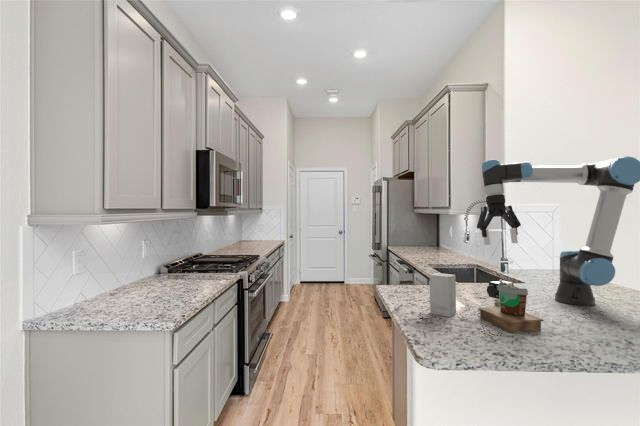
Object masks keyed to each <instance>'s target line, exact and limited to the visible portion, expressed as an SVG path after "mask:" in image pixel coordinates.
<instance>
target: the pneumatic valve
mask: <svg viewBox="0 0 640 426" xmlns="http://www.w3.org/2000/svg"><path fill="white" fill-rule="evenodd" d="M502 282H506V285H509V286H515V285H514V282H513V281H508V280H507V281H506V280H503V279H499V280H498V281H497V280H496V281H495V280H494V281H488V285H487V287H486V294H488V297H489V298H492V299H494V303H493V307H500V295H499V290H497V288H498V285H499V283H502Z"/></svg>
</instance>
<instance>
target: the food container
mask: <svg viewBox="0 0 640 426" xmlns="http://www.w3.org/2000/svg"><path fill="white" fill-rule="evenodd" d="M497 290H499V295H500V308H501V312H502V313H503V314H506V315H511V316H518V317H525V313H526V305H527V298H528V297H527V296H528V295H529V291H528V288H520V287H517V286H515V285H514V286H509V285H506V282H502V283H499V285H498V288H497Z"/></svg>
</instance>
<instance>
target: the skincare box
mask: <svg viewBox="0 0 640 426" xmlns="http://www.w3.org/2000/svg"><path fill="white" fill-rule="evenodd" d="M456 282H457V281H456V274H449V273H441V272H440V273H439V272H436V273H432V274H430V275H429V305H430V306H429V308H430V309H429V310H430V311H429V312H430V314H432V315H438V316H443V317H447V318H451V317H452V316H455V315H456V314H457V297H456V295H457V290H456V289H457V288H456V285H457V284H456Z"/></svg>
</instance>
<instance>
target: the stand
mask: <svg viewBox="0 0 640 426" xmlns="http://www.w3.org/2000/svg"><path fill="white" fill-rule="evenodd" d="M478 310H479V311H480V315H479V318H480V320H482V321H484V322H487V323H489V324H490V323H491V325H493V326H495V327H497V328H499V329H501V330H503V331H505V332H507V333H524V332H525V333H526V332H527V333H529V332H541V331H542V322H544V319H542V318H540V317H538V316H535V315H532V314H530V313H526V312H525V317H518V316H511V315H506V314H503V313H502V312H501V308H500V307H494V306H493V307H492V306H489V307H485V306H484V307H478Z"/></svg>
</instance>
